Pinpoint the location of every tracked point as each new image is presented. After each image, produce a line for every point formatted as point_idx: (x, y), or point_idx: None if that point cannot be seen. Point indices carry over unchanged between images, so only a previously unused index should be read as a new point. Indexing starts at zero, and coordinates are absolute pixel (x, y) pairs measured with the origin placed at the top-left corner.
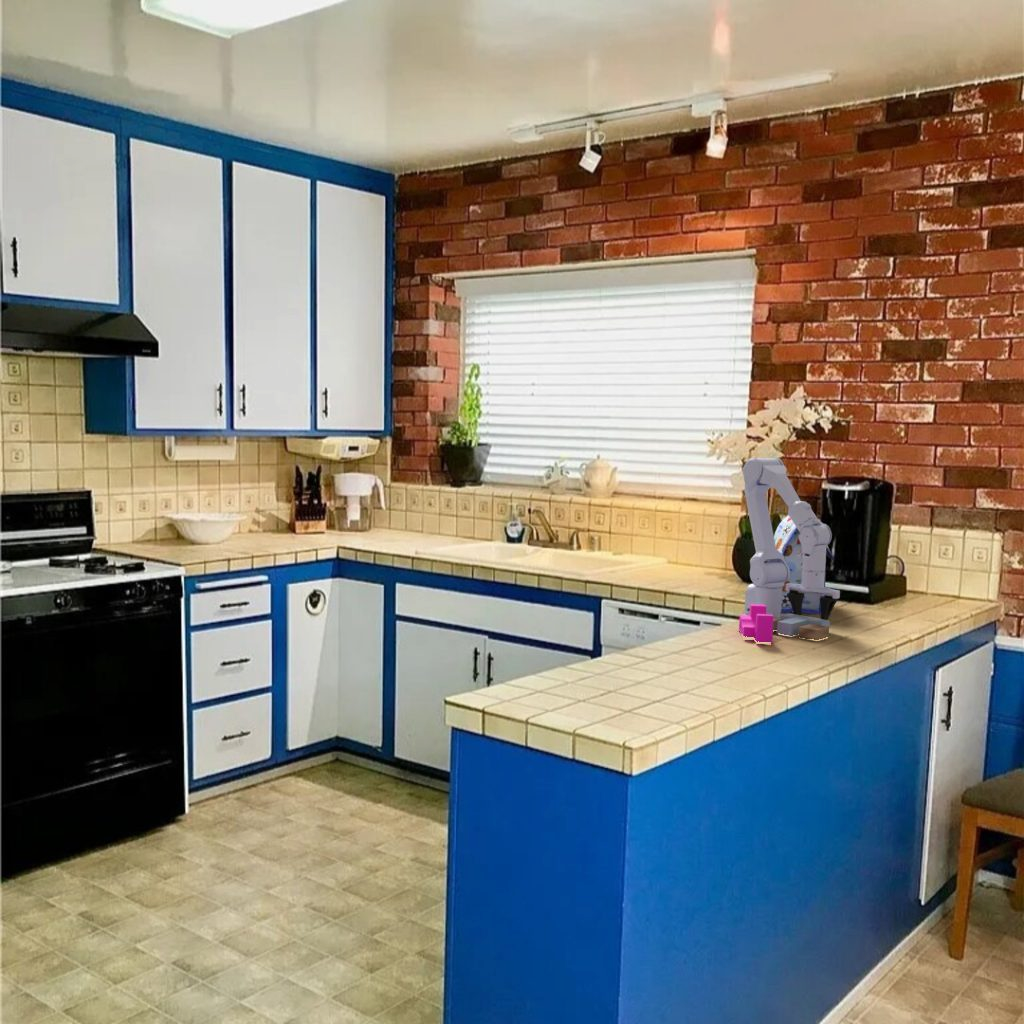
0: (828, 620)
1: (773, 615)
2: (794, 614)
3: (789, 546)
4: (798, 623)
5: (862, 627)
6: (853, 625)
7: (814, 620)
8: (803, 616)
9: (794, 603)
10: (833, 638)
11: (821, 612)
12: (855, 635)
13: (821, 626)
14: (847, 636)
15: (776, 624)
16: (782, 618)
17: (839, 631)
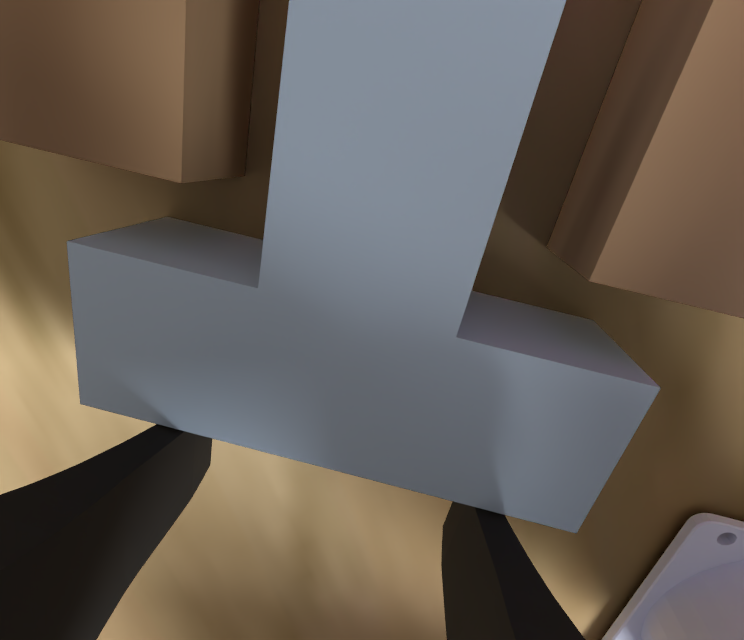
0: (89, 398)
1: (715, 598)
2: (492, 501)
3: None
4: (293, 18)
5: (123, 612)
6: (181, 635)
7: (185, 306)
8: (373, 452)
9: (526, 637)
10: (49, 182)
11: (122, 474)
12: (20, 396)
13: (5, 80)
14: (31, 332)
15: (639, 98)
16: (600, 278)
17: None
